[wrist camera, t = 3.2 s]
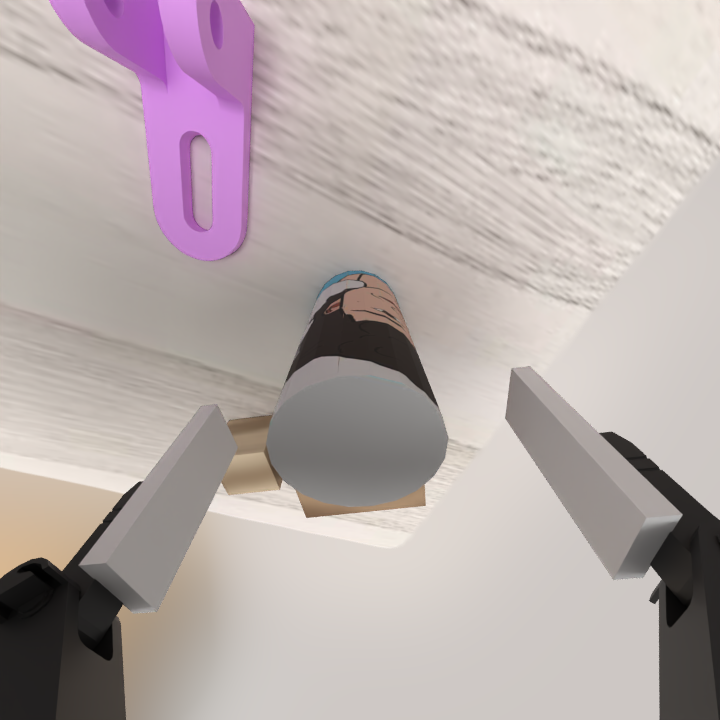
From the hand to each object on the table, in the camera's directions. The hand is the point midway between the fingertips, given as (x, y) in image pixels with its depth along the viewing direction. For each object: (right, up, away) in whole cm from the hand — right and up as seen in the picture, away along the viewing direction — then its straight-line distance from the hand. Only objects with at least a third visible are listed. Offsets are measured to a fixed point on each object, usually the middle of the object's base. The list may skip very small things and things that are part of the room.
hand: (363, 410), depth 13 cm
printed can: (0, +6, +11) cm, 13 cm away
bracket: (-10, +16, +6) cm, 20 cm away
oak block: (-11, -6, +17) cm, 21 cm away
